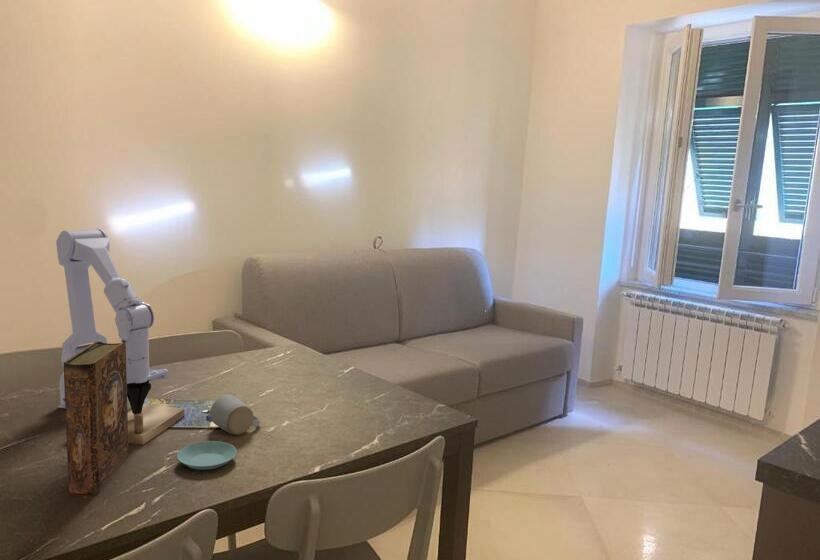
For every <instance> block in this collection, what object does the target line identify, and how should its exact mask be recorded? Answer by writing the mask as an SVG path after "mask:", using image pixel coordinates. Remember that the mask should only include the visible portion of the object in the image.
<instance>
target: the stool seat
mask: <svg viewBox="0 0 820 560" xmlns="http://www.w3.org/2000/svg"><path fill="white" fill-rule="evenodd" d="M127 413H128V444H135V445H145V444H147V442H150V441H151V440H152V439H154V438H155V437H157V436H158V435H160V434H161V433H163V432H164V431H165V430H167V429H169V428H170V427H171V426H173V425H174V424H176V423H177V422H178V420H179V419H180V420H182V419H183V418H184V417H185V408H181V407H173V406H166V405H158V404H149V403H144V404H143V408H142V412H141V414H133V413H132V409H131V408H130V409H129V410H127ZM183 416H184V417H183ZM182 417H183V418H182ZM181 418H182V419H181ZM180 420H179V421H180ZM176 421H177V422H176ZM175 422H176V423H175ZM172 424H173V425H172Z"/></svg>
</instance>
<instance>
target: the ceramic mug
mask: <svg viewBox="0 0 820 560" xmlns="http://www.w3.org/2000/svg"><path fill="white" fill-rule="evenodd" d="M209 415H210V416H209V417H210V420H211V422H212V423H213V424H214V425H215V426H218V427H219V428H220V429H222V430H223V431H225V432H227V433H229V434H230V435H233V436H234V435H236V436H238V435H242V434H245V433H246V432H247V431H248V430H249V429H250V428H251V427H256V428H257V427H259V426H260V423H261V419H260V418H259V417H257V416H256V415H254V413H253V410H252V409H251V408H250V407H249V405H247V404H246V403H244V402H243V401H242V400H240V399H239V398H237V397H236V396H234V395H231V394H225V395H221V396H220V397H218V398H216V400H215V401H214V402H213V403H212V405H211V408H210V411H209Z"/></svg>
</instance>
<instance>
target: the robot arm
mask: <svg viewBox="0 0 820 560" xmlns="http://www.w3.org/2000/svg"><path fill="white" fill-rule="evenodd" d="M55 242H56V243H55V244H56V246H55V247H56V252H57V259H58V264H59V265H60V266H62V267H63V269H64V270H63V271H64V276H65V283H66V291H67V299H68V306H69V307H68V308H69V313H70V315H69V316H70V322H71V329H72V333H71V335H70V336H69V337H68V338H66V339H65V340H64V341H63V342H62V344H61V345H62V346H61V350H62V352H61V360H60V361H61V365H62V367H63V368H64V362H65V361H66V360H68V359H69V358H71V357H72V356H74V355H76V354H77V353H79V352H80V351H82V350H83V349H85V348H86V347H88V346H90V345H91V344H93V343H94V342H96V341H99V342H100V343H107V344H108V340H107V337H106V336H105V335H103V334H102V333H99V332H98V331H97V329H96V323H95V321H96V320H95V314H94V307H93V306H94V305H93V299H92V291H91V282H90V275H89V268H90V267H91V266H92V268H93V269H94V271H95V272H96V274H97V275H98V277H99V278H100V279H101V281H102V282H103V284H104V285H105V287H104V289H103V293H104V295H105V297H106V299H107V300H108V303H109V304H110V305H111V307H112V309H113V310H114V312H115V317H114V322H115V325H116V328H117V334H118V338H119V339H120V341H121V342H120V343H122V342H125V344H126V373H127V398H128V400H129V402H130V405H131V409H132V413H133V414H141V412H142V408H143V404H145V401H146V398H147V396H148V394H149V393H150V391H151V389H152V384H151V383H150V382H153V381H157V380H161V379H164V380H166V379H169V378H170V377H169V376H170V375H169V370H168V369H166V368H162V369H161V368H160V369H150V350H149V349H150V347H149V346H150V341H149V336H150V335H149V328H151V327H152V326H153V325H154V321H155V316H154V312H153V309H152V307H151V305H150V304H149V303H146V302H145V301H144V300H141V299H139V296H138V295H137V293H136V292H135V290H134V288H133V287H132V285H131V284H130V282H129V280H128V279H125V278H121V276H120V274H119V272H118V270H117V267H116V266H115V263H114V261H113V259H112V257H111V255H110V253H109V252H110V239H109V237H108V235H107V233H106V232H105V230H103V229H101V228H97V229H89V230H88V229H86V230H62V231H61V232H60V233H59V235H58V237H57V239H56V241H55ZM59 400H60V404H59V405H58V406H57V407H58V408H60V409H65V386H64V372H62V374H61V376H60V378H59Z"/></svg>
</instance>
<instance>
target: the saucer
mask: <svg viewBox="0 0 820 560" xmlns="http://www.w3.org/2000/svg"><path fill="white" fill-rule="evenodd" d="M237 453H238V450H237V448H236V447H235V446H234V445H233V444H231V443H228V442H225V441H224V442H223V441H217V440H216V441H215V440H208V441H207V440H206V441H198V442H193V443H192V444H188V445H186V446H184V447H181V449H180V450H179V451H178V452H177V454H176V458H177V460H178V461H179V462H180V463H182V465H184V466H186V467H188V468H189V469H194V470H197V471H209V470H216V469H217V468H220V467H223V466H224V465H227V464H228V463H229V462H230V461H232V460H233V459H234V458H235V457H236V455H237Z"/></svg>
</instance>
